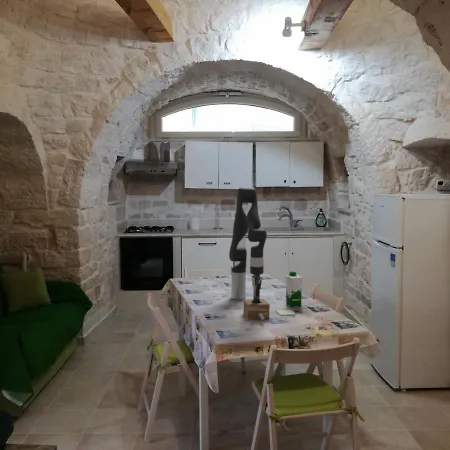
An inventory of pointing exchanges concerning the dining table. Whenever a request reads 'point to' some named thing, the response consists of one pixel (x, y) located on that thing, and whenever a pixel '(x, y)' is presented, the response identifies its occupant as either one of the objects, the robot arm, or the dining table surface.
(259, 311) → the brown wooden block
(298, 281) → the milk carton
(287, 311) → the pad
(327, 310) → the dining table surface
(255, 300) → the key peg
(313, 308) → the dining table surface
